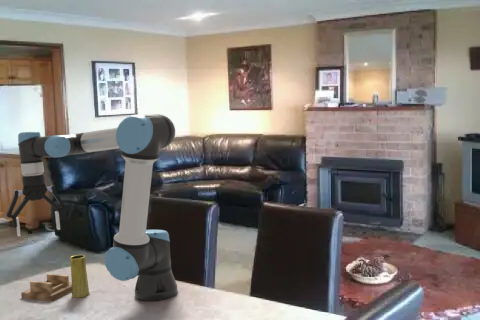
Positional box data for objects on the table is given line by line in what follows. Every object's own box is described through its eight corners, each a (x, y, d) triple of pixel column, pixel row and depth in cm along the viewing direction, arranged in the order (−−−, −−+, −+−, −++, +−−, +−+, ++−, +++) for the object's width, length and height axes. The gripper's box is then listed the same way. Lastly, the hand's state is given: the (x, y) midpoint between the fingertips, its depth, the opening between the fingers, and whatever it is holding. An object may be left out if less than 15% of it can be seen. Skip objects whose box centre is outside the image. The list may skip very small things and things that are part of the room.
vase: (84, 298, 180) (81, 259, 179) (68, 297, 181) (65, 259, 180) (92, 292, 186) (89, 254, 185) (77, 291, 187) (74, 254, 186)
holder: (78, 288, 192) (77, 273, 191) (52, 301, 179) (50, 286, 178) (49, 285, 197) (48, 271, 196) (21, 297, 184) (20, 283, 183)
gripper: (66, 170, 191) (71, 225, 193) (-7, 178, 178) (0, 237, 180) (71, 171, 185) (76, 228, 187) (-4, 179, 172) (2, 240, 174)
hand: (39, 232), depth 183 cm, fingers open, 13 cm apart
